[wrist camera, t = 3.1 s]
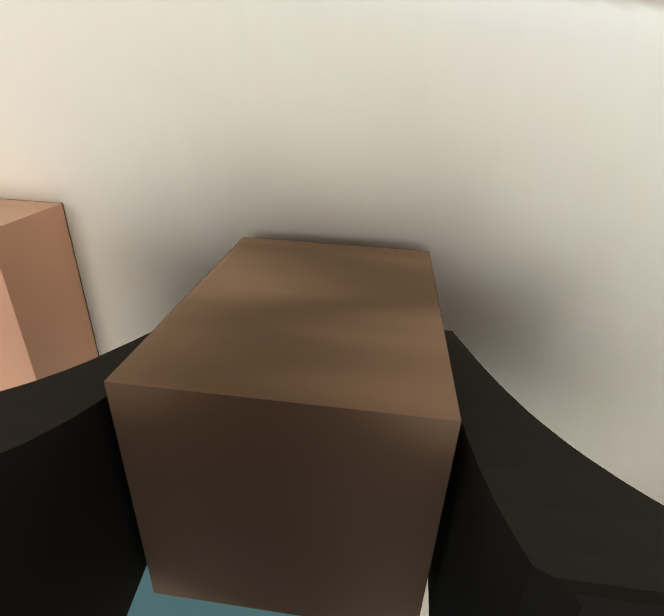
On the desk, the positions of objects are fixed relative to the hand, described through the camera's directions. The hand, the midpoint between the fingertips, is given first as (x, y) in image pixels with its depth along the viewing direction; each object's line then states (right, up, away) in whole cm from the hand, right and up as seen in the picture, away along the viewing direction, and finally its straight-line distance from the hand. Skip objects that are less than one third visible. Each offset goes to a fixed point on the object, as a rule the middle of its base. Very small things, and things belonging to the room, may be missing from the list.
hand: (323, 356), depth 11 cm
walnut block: (0, +1, +1) cm, 2 cm away
